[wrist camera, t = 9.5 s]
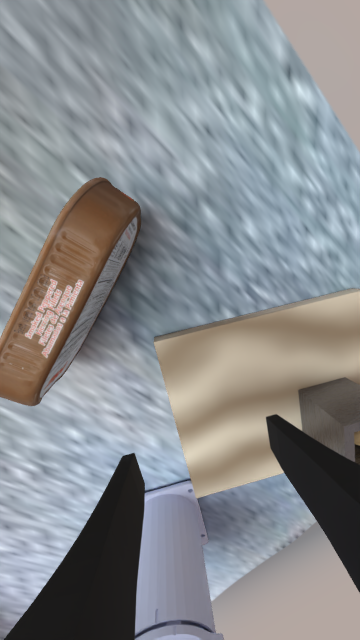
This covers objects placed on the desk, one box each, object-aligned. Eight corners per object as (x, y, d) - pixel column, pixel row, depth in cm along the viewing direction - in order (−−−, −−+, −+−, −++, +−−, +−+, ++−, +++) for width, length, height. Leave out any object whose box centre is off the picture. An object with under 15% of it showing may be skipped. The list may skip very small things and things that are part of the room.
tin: (119, 205, 16) (76, 129, 8) (153, 227, 17) (145, 177, 9) (42, 357, 18) (-56, 423, 10) (75, 372, 19) (8, 446, 10)
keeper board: (356, 437, 23) (421, 490, 18) (193, 484, 22) (205, 556, 17) (351, 288, 20) (433, 292, 14) (154, 337, 19) (151, 363, 13)
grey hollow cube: (346, 419, 21) (403, 461, 16) (302, 431, 21) (346, 478, 16) (345, 377, 20) (405, 409, 15) (298, 389, 20) (343, 426, 15)
